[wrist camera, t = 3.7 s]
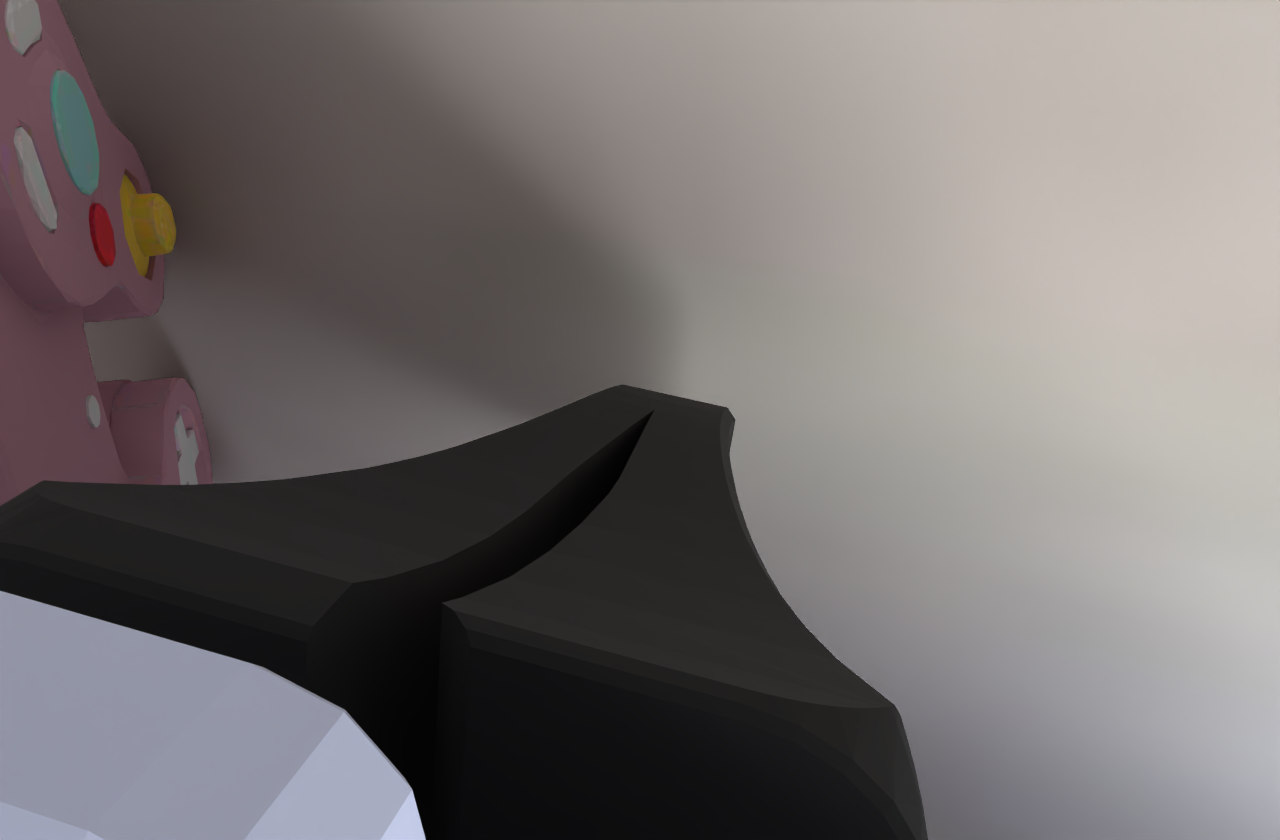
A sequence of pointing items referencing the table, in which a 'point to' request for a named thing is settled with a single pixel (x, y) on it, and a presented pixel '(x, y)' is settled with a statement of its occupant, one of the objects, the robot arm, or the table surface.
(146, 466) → the video game controller
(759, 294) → the table surface
